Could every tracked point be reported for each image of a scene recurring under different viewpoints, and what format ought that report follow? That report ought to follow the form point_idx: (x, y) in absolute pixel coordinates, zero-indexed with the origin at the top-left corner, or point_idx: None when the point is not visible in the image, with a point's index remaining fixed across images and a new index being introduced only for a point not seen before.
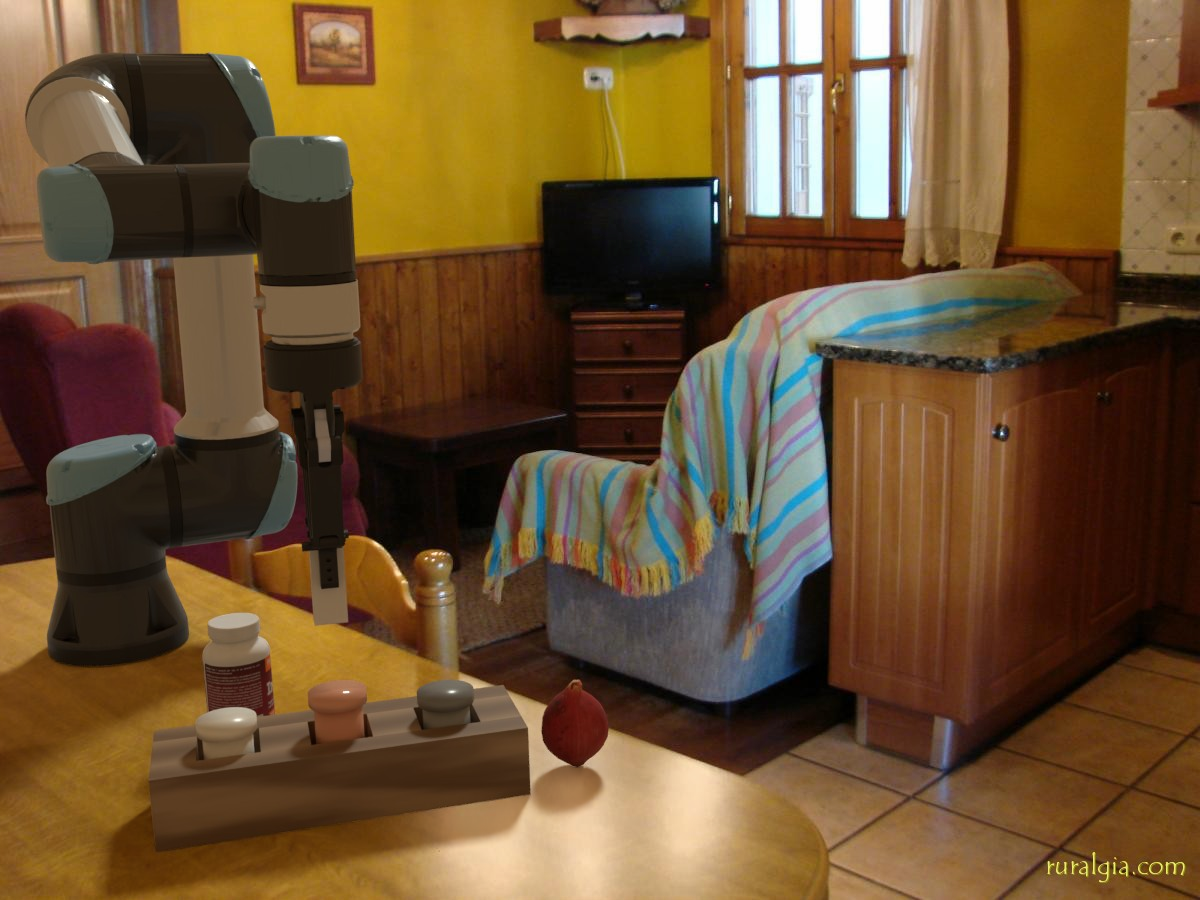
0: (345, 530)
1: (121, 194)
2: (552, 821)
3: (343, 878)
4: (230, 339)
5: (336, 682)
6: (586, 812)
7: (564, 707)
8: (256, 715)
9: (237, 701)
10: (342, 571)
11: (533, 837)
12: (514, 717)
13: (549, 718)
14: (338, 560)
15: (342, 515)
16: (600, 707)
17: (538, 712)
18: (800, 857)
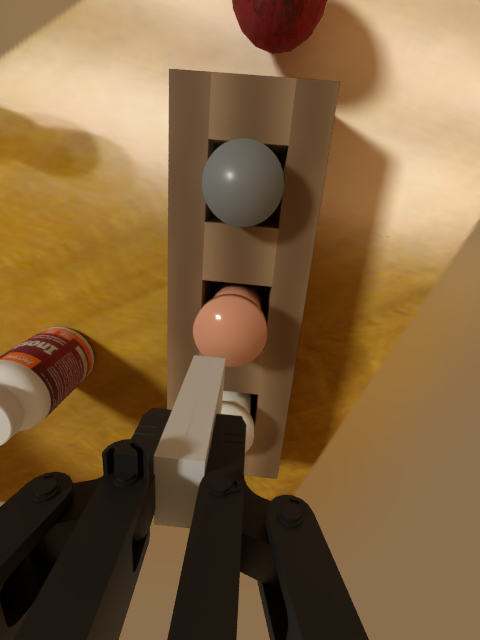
0: (115, 459)
1: None
2: (394, 103)
3: (388, 322)
4: None
5: (201, 329)
6: (396, 52)
7: None
8: (224, 407)
9: (73, 379)
10: (213, 420)
11: (415, 136)
12: (296, 90)
13: (290, 29)
14: (209, 446)
15: (360, 627)
16: None
17: (97, 13)
18: None
